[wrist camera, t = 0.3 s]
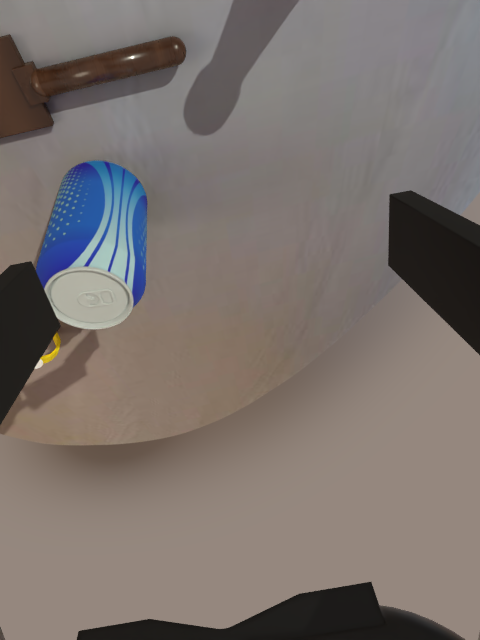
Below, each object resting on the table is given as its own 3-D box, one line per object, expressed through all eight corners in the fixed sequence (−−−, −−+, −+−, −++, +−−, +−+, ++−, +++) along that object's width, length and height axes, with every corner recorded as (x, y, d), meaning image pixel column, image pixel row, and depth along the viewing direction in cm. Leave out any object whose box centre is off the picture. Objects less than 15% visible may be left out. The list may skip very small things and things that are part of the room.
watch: (12, 329, 55) (1, 364, 51) (15, 315, 53) (3, 351, 49) (60, 338, 57) (53, 373, 53) (64, 325, 55) (57, 360, 51)
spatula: (173, -6, 31) (174, -1, 30) (195, 89, 36) (196, 97, 35) (-125, 67, 32) (-137, 75, 31) (-63, 150, 37) (-71, 160, 36)
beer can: (124, 239, 47) (116, 348, 36) (49, 204, 42) (14, 316, 32) (162, 182, 42) (165, 287, 32) (81, 136, 38) (53, 240, 27)
